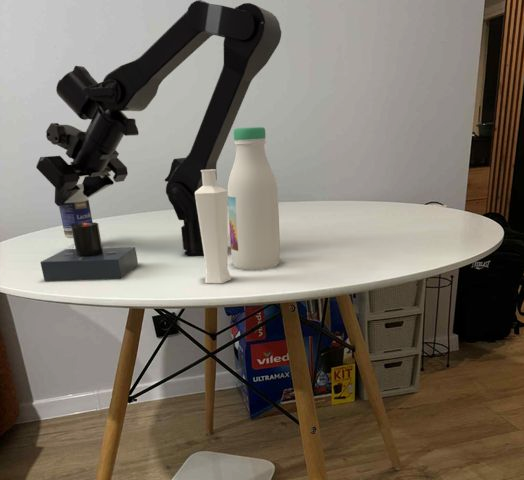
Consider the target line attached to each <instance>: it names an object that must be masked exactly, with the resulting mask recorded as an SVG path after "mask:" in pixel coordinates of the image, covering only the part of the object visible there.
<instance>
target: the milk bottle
mask: <svg viewBox="0 0 524 480" xmlns="http://www.w3.org/2000/svg"><path fill="white" fill-rule="evenodd" d="M233 140H234V146H235V156H234V157H235V158H234V161H233V165H232V168H231V171H230V174H229V177H228V183H227V191H228V224H229V225H228V226H229V227H228V228H229V239H230V241H229V242H230V252H231V253H230V256H231V262H232V265H233V266H234V267H236V268H239V269H245V270H259V269H267V268H272V267H276V266H277V265H279V264H280V262H281V237H280V213H279V212H280V211H279V194H278V185H277V180H276V179H277V178H276V177H275V173H274V171H273V170H272V168H271V165H270V163H269V161H268V157H267V153H266V150H265V144H266V143H267V142H266V127H262V126H255V127H254V126H253V127H238V128H234V129H233Z"/></svg>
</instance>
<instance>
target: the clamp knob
mask: <svg viewBox="0 0 524 480" xmlns="http://www.w3.org/2000/svg"><path fill="white" fill-rule="evenodd" d="M71 229H72V234H73V238H72V239H73V244H74V249H76V254H77V256H94V255H99V254H102V253H103V249H102V248H103V244H102V238H101V231H100V225H99V223H98V222H93V223H79V224H74V225H72V226H71Z"/></svg>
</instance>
